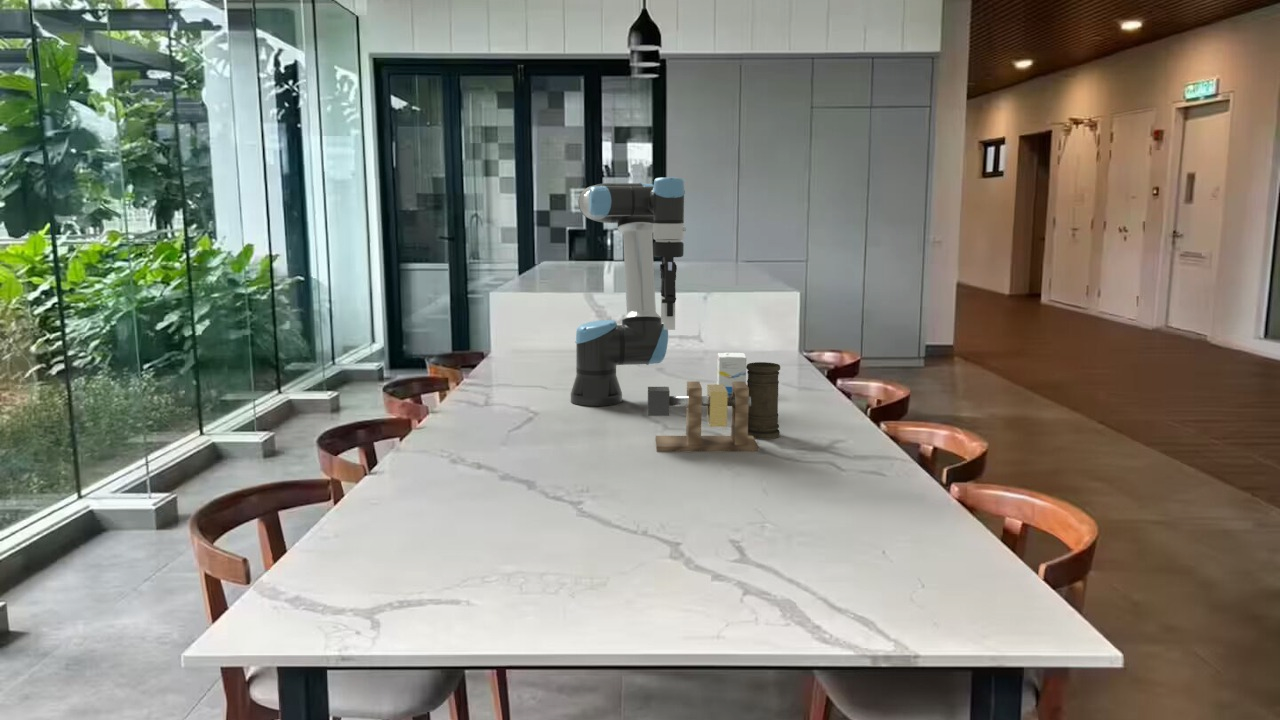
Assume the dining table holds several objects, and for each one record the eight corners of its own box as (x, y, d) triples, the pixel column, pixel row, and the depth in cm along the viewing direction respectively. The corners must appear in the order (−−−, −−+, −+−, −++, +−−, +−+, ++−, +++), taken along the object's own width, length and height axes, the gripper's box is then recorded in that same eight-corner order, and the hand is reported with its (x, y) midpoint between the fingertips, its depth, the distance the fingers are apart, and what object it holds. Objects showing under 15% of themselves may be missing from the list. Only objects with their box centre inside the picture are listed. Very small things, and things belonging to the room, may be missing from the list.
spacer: (709, 426, 217) (710, 391, 215) (706, 418, 225) (707, 384, 224) (726, 426, 217) (727, 391, 215) (723, 418, 225) (723, 384, 224)
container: (778, 440, 227) (780, 368, 224) (742, 438, 229) (743, 367, 226) (780, 431, 236) (782, 362, 233) (745, 429, 238) (747, 360, 235)
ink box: (746, 395, 279) (747, 357, 277) (718, 394, 280) (718, 356, 278) (743, 389, 288) (744, 352, 286) (716, 389, 288) (717, 352, 286)
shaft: (648, 415, 218) (648, 391, 217) (647, 410, 223) (647, 386, 222) (751, 415, 218) (752, 391, 217) (748, 411, 223) (749, 386, 222)
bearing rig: (656, 451, 217) (657, 389, 214) (655, 440, 227) (655, 380, 224) (758, 451, 217) (760, 389, 215) (752, 440, 227) (754, 380, 224)
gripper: (687, 243, 216) (686, 332, 220) (679, 239, 241) (679, 319, 244) (655, 243, 216) (655, 332, 220) (651, 239, 241) (650, 319, 244)
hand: (667, 326), depth 232 cm, fingers open, 13 cm apart
